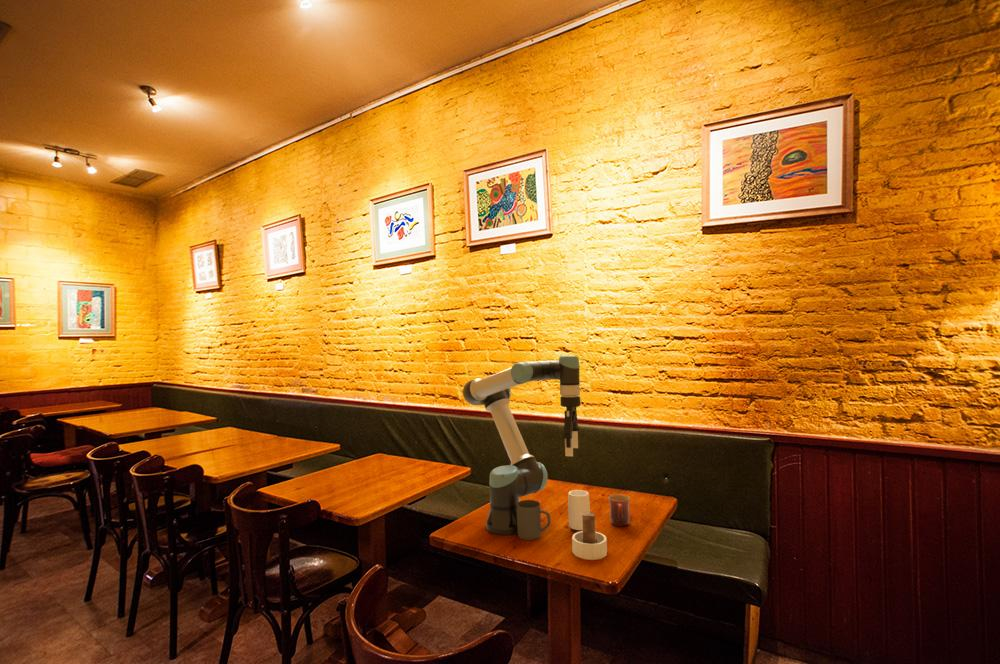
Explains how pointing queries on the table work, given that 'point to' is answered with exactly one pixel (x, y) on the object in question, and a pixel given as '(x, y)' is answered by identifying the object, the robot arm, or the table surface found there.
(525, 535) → the mug
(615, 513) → the mug
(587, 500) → the cup
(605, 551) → the white round bowl
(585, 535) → the tall brown wooden block
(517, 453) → the robot arm
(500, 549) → the table surface
